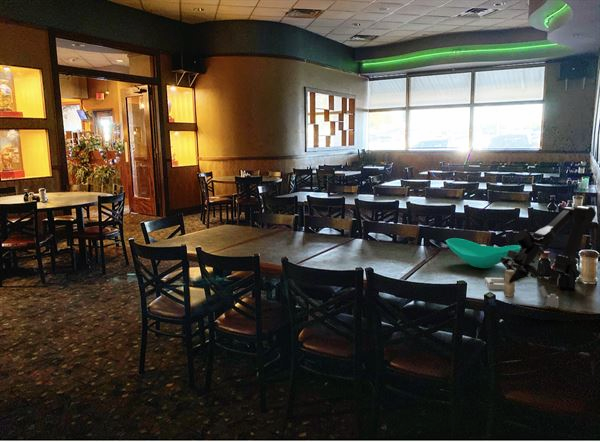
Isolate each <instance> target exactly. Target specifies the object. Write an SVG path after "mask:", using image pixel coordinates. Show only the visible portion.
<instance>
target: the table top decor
mask: <svg viewBox="0 0 600 442" xmlns="http://www.w3.org/2000/svg"><path fill="white" fill-rule="evenodd" d="M445 242H446V245H447V247H448V248H449V249H450V250H451V251H452V252H453V253H454V254H455V255H456V256H458V257H459V258H460V259H461V260H462V261H464V262H465V263H466V264H468V265H469V266H471V267H474V268H477V269H478V268H479V269H490V268H492V267H494V266H496V265H498V264H500V263H501V262H500V259H501V258H502V257H506V258H509V259H511V258H510V257H507V254H508V251H509V250H511V251H515V252H519V251H521V247H520V245H519V244H517V245H516V244H514V245H512V244H511V245H505V246H500V247H498V246H492V245H482V244H479V243H476V242H473V241H472V240H468V239H463V238H457V237H453V238H452V237H451V238H448V239H446V240H445ZM501 264H502V263H501Z"/></svg>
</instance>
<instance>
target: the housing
mask: <svg viewBox="0 0 600 442" xmlns="http://www.w3.org/2000/svg"><path fill="white" fill-rule="evenodd" d="M484 283H485V285H486V284H487V285H486V287H487V288H488V287H489V288H488V290H493V289H503V290H502V291H504V277H484Z"/></svg>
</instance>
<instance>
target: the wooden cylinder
mask: <svg viewBox="0 0 600 442" xmlns="http://www.w3.org/2000/svg"><path fill="white" fill-rule="evenodd" d="M515 271H516V270H515ZM515 271H514V270H511V269H510V270H507V269H504V277H505V281H504V290H503V295H504V296H506V297H508V298H510V297H514V296H515V286H516V281H515V282H513V283H509V281H510V279H511V278H512V276H513V275H514V273H515Z"/></svg>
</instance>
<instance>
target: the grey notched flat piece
mask: <svg viewBox="0 0 600 442" xmlns="http://www.w3.org/2000/svg"><path fill="white" fill-rule="evenodd" d="M539 289H540V292H541V294H542V297H545V298H546V305H545V306H546V307H549V306H550V308H554V307H555V309H558V308H559V299H560V297H559V296H557V295H556V294H555V293H550V294H548V292H547V290H546V287H545V286H544V285H542V286H540V287H539Z"/></svg>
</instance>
